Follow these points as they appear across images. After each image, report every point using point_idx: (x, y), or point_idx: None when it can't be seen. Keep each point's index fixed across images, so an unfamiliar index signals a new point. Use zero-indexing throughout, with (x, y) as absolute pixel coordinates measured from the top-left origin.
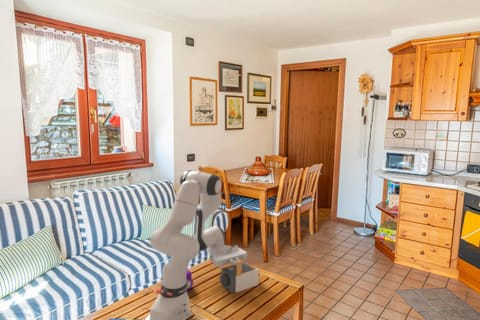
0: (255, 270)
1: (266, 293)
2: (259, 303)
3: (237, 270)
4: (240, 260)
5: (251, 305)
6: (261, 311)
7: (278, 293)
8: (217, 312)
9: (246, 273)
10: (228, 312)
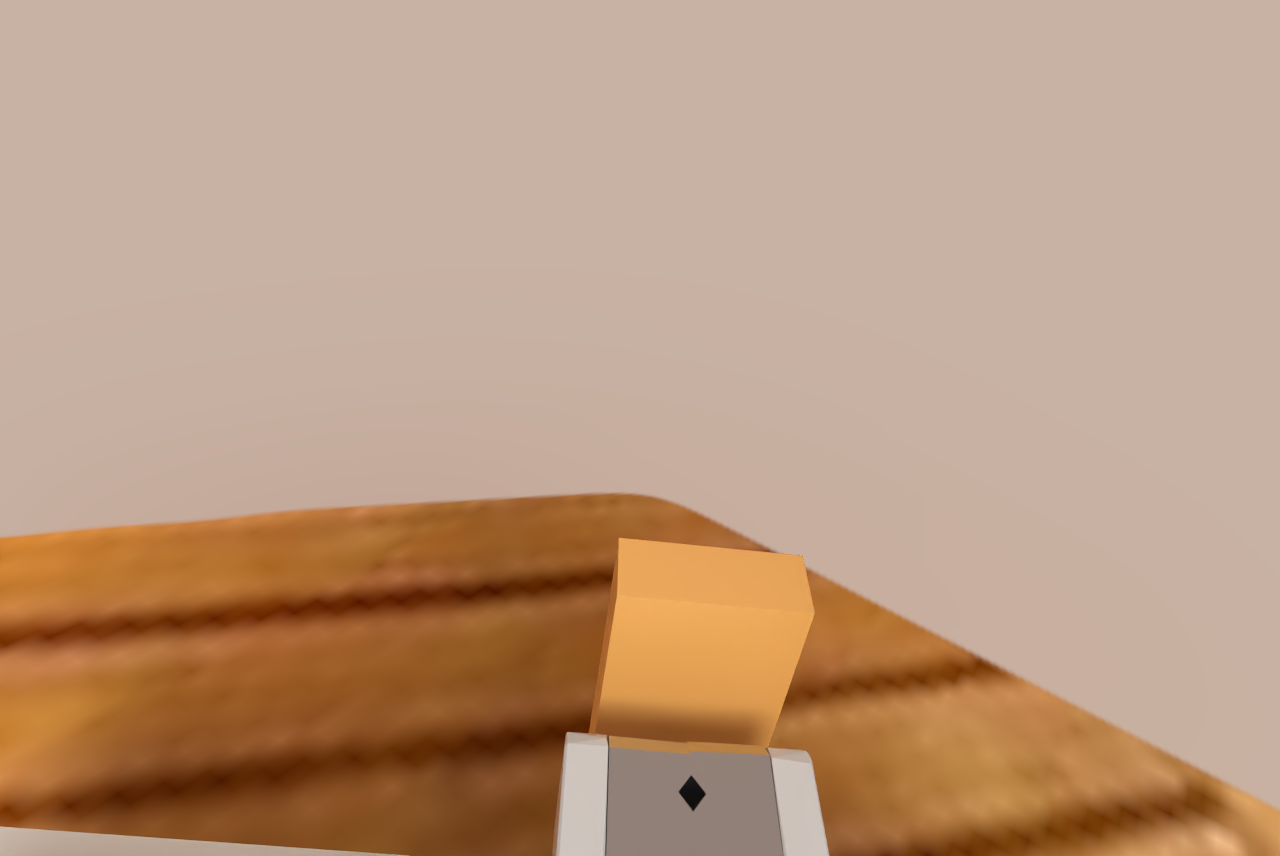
0: (11, 831)
1: (228, 723)
2: (529, 625)
3: None
4: (647, 579)
5: None
6: (622, 529)
7: (102, 624)
8: (1156, 798)
9: (376, 854)
10: (1002, 716)
